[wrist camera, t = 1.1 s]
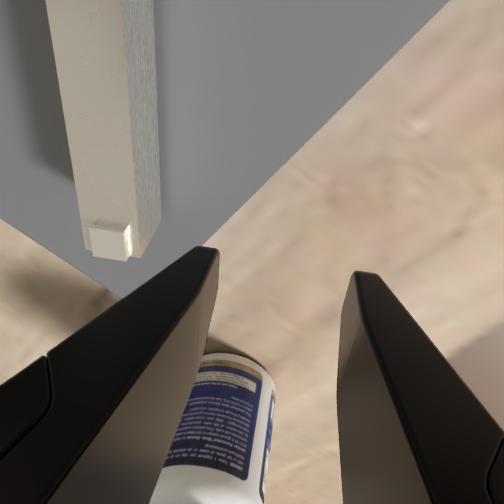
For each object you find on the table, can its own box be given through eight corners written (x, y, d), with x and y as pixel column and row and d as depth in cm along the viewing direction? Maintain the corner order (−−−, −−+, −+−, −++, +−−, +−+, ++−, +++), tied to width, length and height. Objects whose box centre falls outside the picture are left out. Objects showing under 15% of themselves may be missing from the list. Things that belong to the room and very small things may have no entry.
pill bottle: (163, 366, 26) (90, 559, 18) (241, 337, 24) (196, 543, 16) (219, 420, 28) (175, 612, 20) (294, 398, 26) (278, 605, 18)
